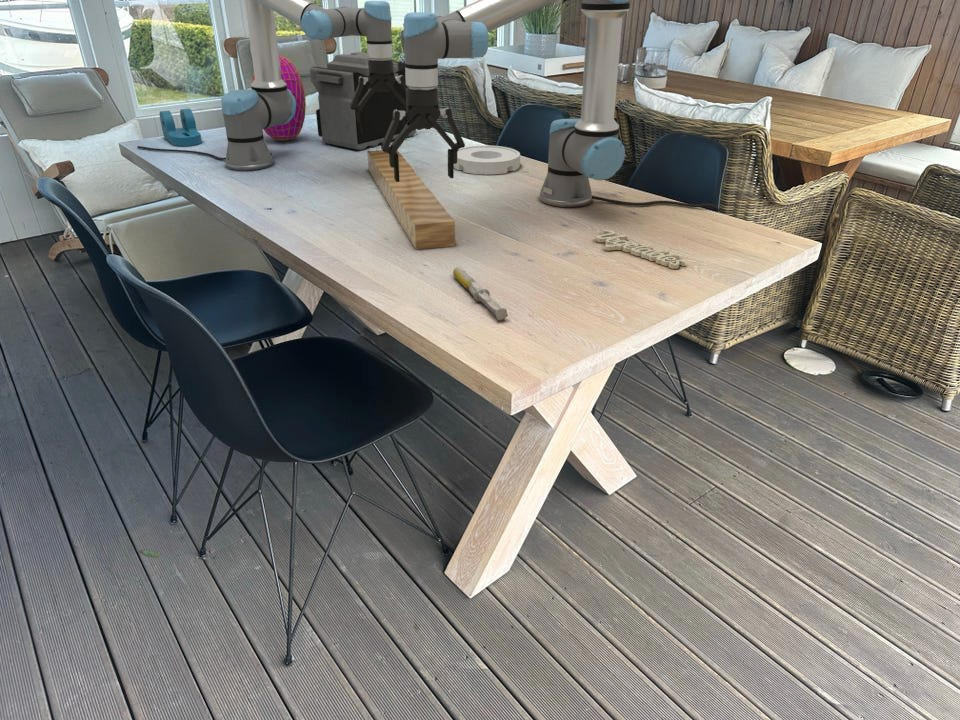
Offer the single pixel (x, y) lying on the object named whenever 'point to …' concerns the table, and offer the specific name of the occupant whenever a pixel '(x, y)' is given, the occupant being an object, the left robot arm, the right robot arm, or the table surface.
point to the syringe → (479, 293)
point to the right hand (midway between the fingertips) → (424, 178)
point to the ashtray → (487, 159)
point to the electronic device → (337, 96)
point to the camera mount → (180, 135)
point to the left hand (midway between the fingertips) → (384, 131)
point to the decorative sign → (639, 249)
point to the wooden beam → (412, 203)
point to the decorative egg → (297, 90)
